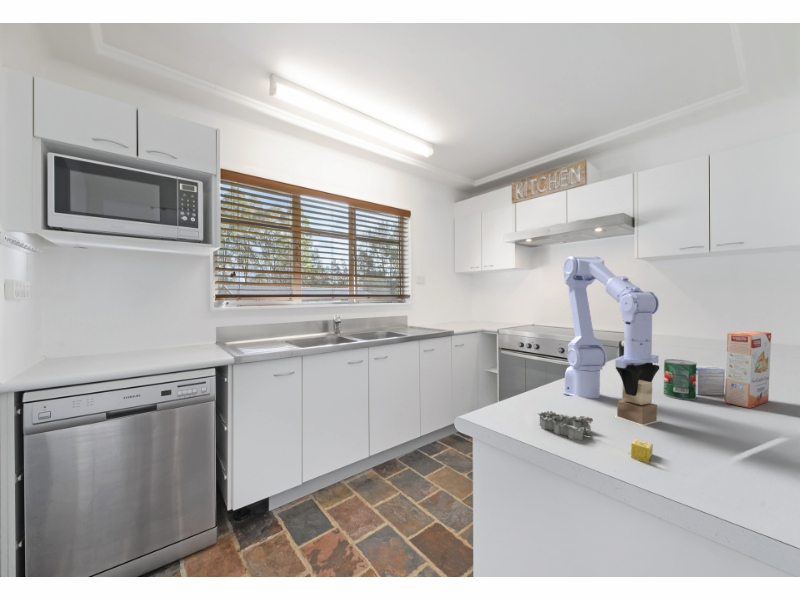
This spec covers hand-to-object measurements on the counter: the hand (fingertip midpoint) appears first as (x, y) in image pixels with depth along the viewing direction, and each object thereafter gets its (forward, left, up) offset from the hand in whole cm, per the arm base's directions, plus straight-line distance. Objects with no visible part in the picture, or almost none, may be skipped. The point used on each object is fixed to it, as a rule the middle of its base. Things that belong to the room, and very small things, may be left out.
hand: (636, 393), depth 86 cm
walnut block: (0, 0, -6) cm, 6 cm away
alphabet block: (+12, -19, -7) cm, 24 cm away
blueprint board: (-1, 0, -7) cm, 7 cm away
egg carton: (-4, -22, -8) cm, 23 cm away
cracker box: (+5, +45, -7) cm, 46 cm away
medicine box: (-5, +45, -7) cm, 46 cm away
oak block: (0, 0, -2) cm, 2 cm away
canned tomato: (-7, +34, -7) cm, 35 cm away
